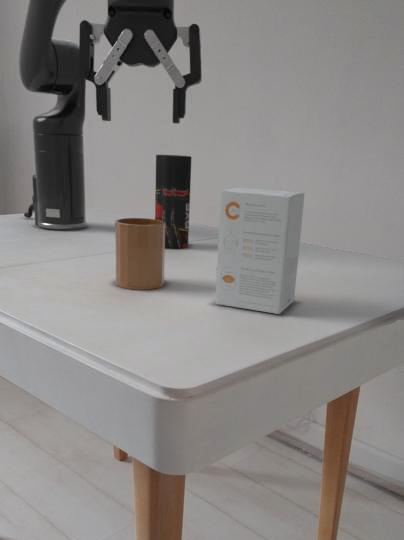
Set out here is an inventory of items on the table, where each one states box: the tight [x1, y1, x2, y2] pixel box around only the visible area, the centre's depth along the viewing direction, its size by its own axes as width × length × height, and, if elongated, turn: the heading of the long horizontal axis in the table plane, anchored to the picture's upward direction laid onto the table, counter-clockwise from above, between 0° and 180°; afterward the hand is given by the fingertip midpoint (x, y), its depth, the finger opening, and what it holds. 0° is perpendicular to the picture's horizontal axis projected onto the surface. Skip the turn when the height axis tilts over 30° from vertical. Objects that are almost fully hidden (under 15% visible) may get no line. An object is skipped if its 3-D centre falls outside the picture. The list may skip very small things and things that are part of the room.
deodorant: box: [154, 154, 192, 250], centre depth 97 cm, size 6×6×15 cm
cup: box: [114, 217, 166, 291], centre depth 72 cm, size 6×6×8 cm
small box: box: [214, 187, 305, 315], centre depth 65 cm, size 8×6×13 cm
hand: (141, 122), depth 68 cm, fingers open, 8 cm apart
